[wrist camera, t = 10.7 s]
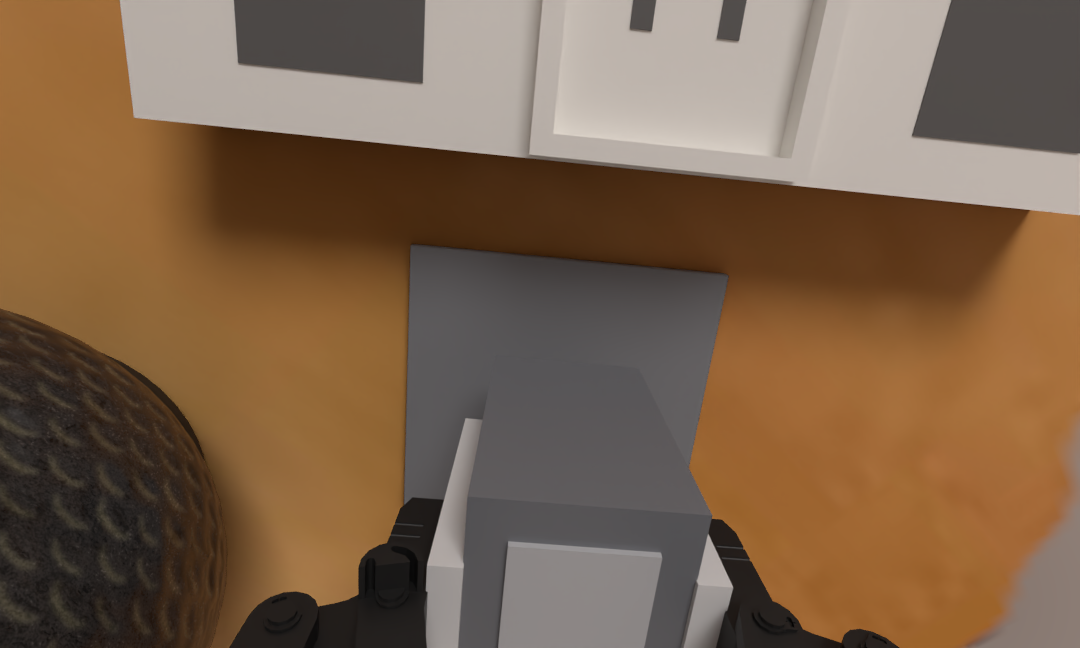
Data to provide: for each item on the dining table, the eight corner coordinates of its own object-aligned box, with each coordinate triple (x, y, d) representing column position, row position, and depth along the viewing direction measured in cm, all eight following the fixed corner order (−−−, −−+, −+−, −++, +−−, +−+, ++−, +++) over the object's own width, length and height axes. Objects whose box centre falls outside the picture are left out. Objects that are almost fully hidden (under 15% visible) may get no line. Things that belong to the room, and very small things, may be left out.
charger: (483, 503, 20) (451, 722, 12) (495, 355, 18) (466, 501, 10) (614, 513, 20) (665, 735, 12) (638, 368, 18) (714, 520, 11)
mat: (405, 512, 24) (403, 518, 23) (413, 243, 20) (410, 245, 20) (671, 532, 24) (673, 538, 24) (725, 273, 20) (728, 275, 20)
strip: (216, 125, 19) (112, 115, 14) (190, -191, 16) (52, -332, 11) (1256, 232, 20) (1469, 254, 16) (1392, -39, 18) (1696, -109, 13)
